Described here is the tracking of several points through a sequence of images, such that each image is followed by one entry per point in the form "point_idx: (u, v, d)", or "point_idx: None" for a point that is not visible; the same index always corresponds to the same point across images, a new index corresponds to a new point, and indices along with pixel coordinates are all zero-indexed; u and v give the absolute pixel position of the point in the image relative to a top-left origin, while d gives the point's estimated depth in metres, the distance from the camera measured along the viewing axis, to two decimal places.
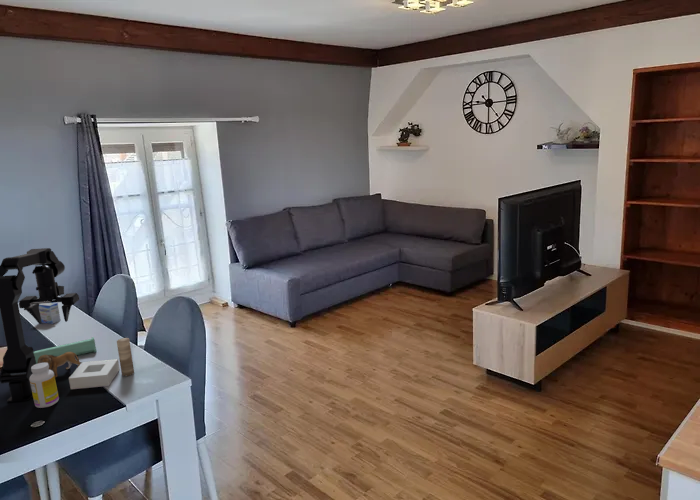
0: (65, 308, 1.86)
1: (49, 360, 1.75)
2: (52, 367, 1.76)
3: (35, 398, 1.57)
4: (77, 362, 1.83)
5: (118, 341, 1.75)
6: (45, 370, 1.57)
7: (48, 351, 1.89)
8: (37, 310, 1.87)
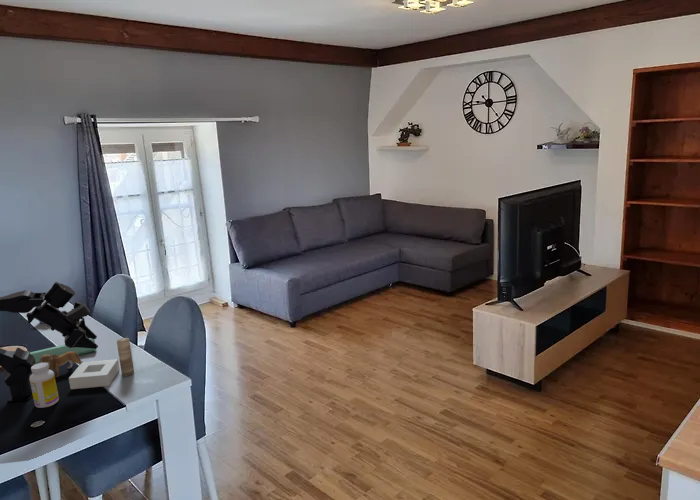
0: None
1: (51, 359, 1.75)
2: (54, 366, 1.77)
3: (35, 398, 1.57)
4: (79, 361, 1.84)
5: (119, 341, 1.75)
6: (45, 370, 1.57)
7: (48, 351, 1.89)
8: (83, 329, 1.74)
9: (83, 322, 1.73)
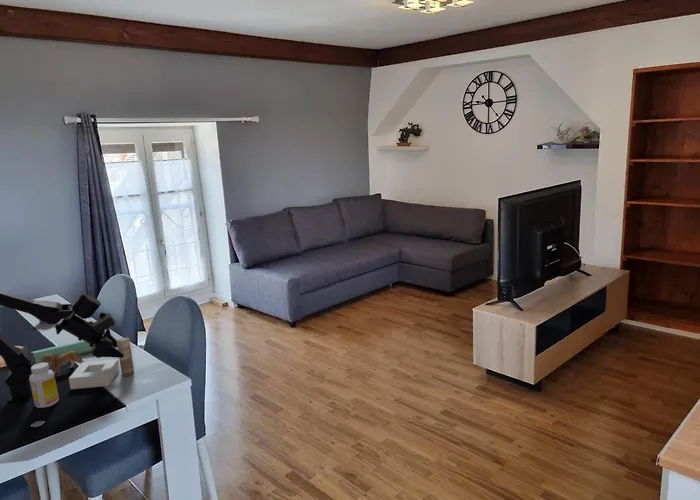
0: None
1: (52, 359, 1.76)
2: (55, 366, 1.77)
3: (35, 398, 1.57)
4: (80, 361, 1.84)
5: (119, 341, 1.75)
6: (45, 370, 1.57)
7: (48, 351, 1.89)
8: (109, 338, 1.78)
9: (108, 331, 1.78)
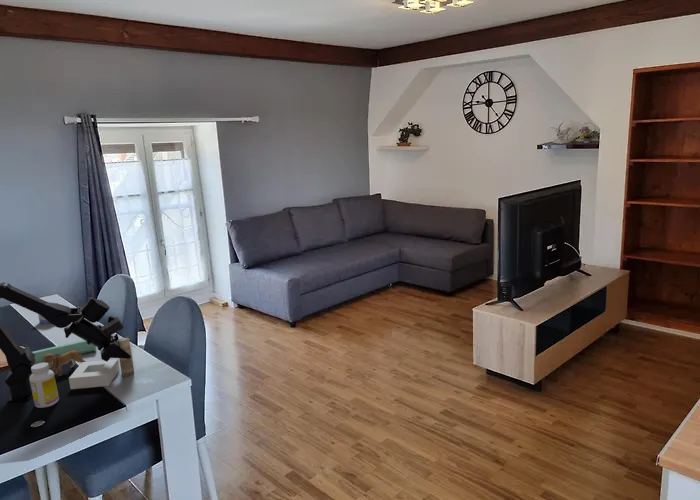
0: None
1: (54, 358, 1.76)
2: (57, 365, 1.78)
3: (35, 398, 1.57)
4: (81, 360, 1.84)
5: (119, 341, 1.75)
6: (45, 370, 1.57)
7: (48, 351, 1.90)
8: None
9: (117, 338, 1.77)
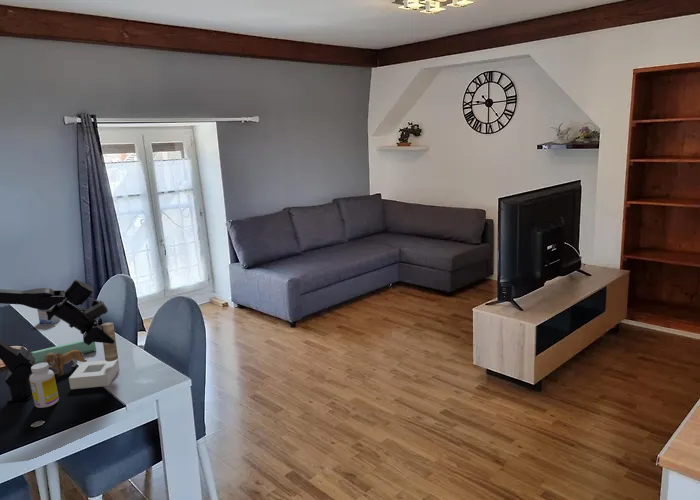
0: None
1: (56, 358, 1.77)
2: (58, 365, 1.78)
3: (35, 398, 1.57)
4: (83, 360, 1.85)
5: None
6: (45, 370, 1.57)
7: (48, 351, 1.90)
8: None
9: (101, 322, 1.74)
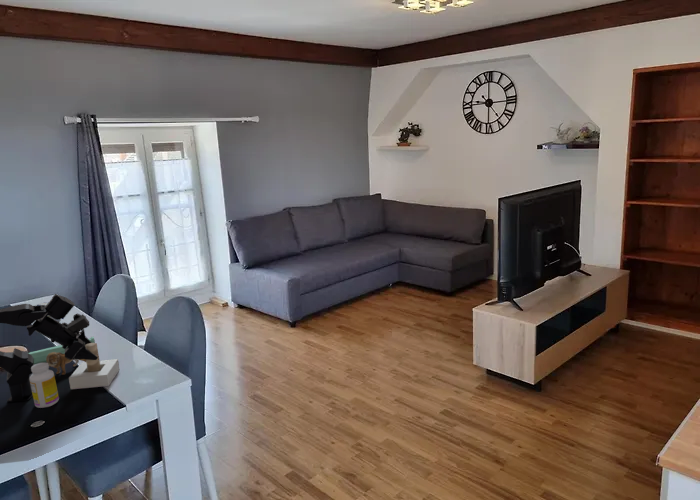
0: None
1: (58, 357, 1.77)
2: (60, 364, 1.78)
3: (35, 398, 1.57)
4: (84, 359, 1.85)
5: (86, 346, 1.72)
6: (45, 370, 1.57)
7: (48, 351, 1.90)
8: (83, 340, 1.76)
9: (83, 333, 1.75)
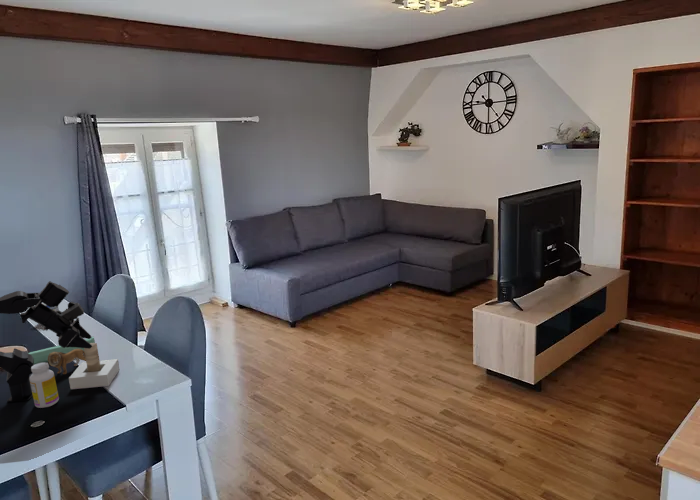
0: None
1: (59, 357, 1.77)
2: (62, 364, 1.79)
3: (35, 398, 1.57)
4: (85, 359, 1.86)
5: None
6: (45, 370, 1.57)
7: (48, 351, 1.90)
8: (78, 329, 1.74)
9: (77, 322, 1.74)
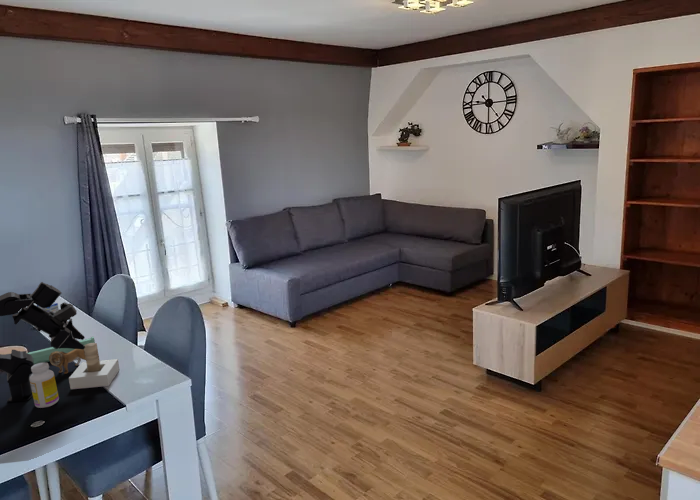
0: None
1: (60, 356, 1.78)
2: (63, 363, 1.79)
3: (35, 398, 1.57)
4: None
5: (86, 346, 1.72)
6: (45, 370, 1.57)
7: (48, 351, 1.90)
8: (71, 330, 1.73)
9: (70, 323, 1.73)
